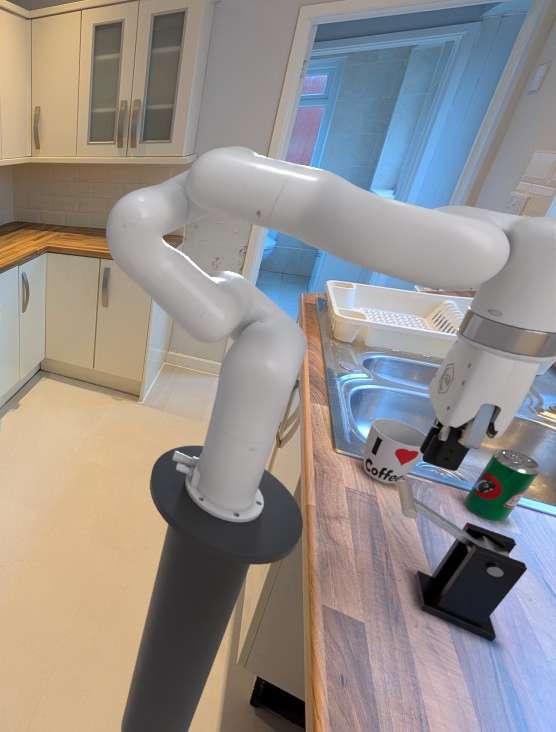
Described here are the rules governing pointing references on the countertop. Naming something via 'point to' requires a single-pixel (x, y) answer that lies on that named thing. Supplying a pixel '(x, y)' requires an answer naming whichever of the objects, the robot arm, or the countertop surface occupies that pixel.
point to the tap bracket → (470, 583)
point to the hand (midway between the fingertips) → (437, 460)
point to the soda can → (501, 485)
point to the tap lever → (441, 520)
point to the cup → (391, 449)
